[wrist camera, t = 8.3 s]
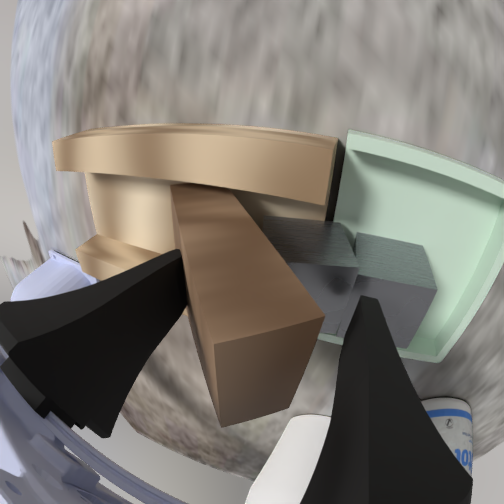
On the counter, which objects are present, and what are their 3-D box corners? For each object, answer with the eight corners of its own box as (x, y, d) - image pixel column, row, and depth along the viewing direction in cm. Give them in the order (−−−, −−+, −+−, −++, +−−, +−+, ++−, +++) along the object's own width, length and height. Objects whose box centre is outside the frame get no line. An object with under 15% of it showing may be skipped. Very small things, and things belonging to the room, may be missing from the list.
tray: (311, 315, 16) (305, 336, 15) (348, 129, 10) (347, 132, 9) (436, 342, 14) (439, 363, 13) (511, 184, 8) (528, 197, 7)
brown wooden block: (177, 271, 15) (221, 427, 8) (169, 185, 12) (213, 344, 5) (221, 264, 15) (288, 407, 8) (222, 180, 13) (325, 316, 6)
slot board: (110, 249, 20) (82, 271, 18) (90, 129, 15) (52, 141, 12) (306, 307, 16) (292, 349, 13) (338, 138, 11) (333, 150, 8)
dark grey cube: (343, 289, 14) (335, 336, 11) (356, 231, 12) (354, 273, 9) (402, 300, 13) (406, 348, 10) (422, 245, 11) (437, 290, 8)
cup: (368, 414, 20) (340, 529, 11) (351, 443, 25) (326, 529, 15) (277, 401, 24) (231, 508, 14) (280, 432, 28) (246, 513, 18)
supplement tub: (482, 408, 15) (475, 538, 4) (413, 440, 21) (391, 550, 9) (443, 380, 15) (426, 557, 4) (362, 419, 21) (324, 553, 9)
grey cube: (258, 277, 14) (254, 329, 11) (263, 215, 12) (260, 259, 9) (325, 282, 14) (335, 333, 11) (339, 222, 12) (359, 267, 9)
